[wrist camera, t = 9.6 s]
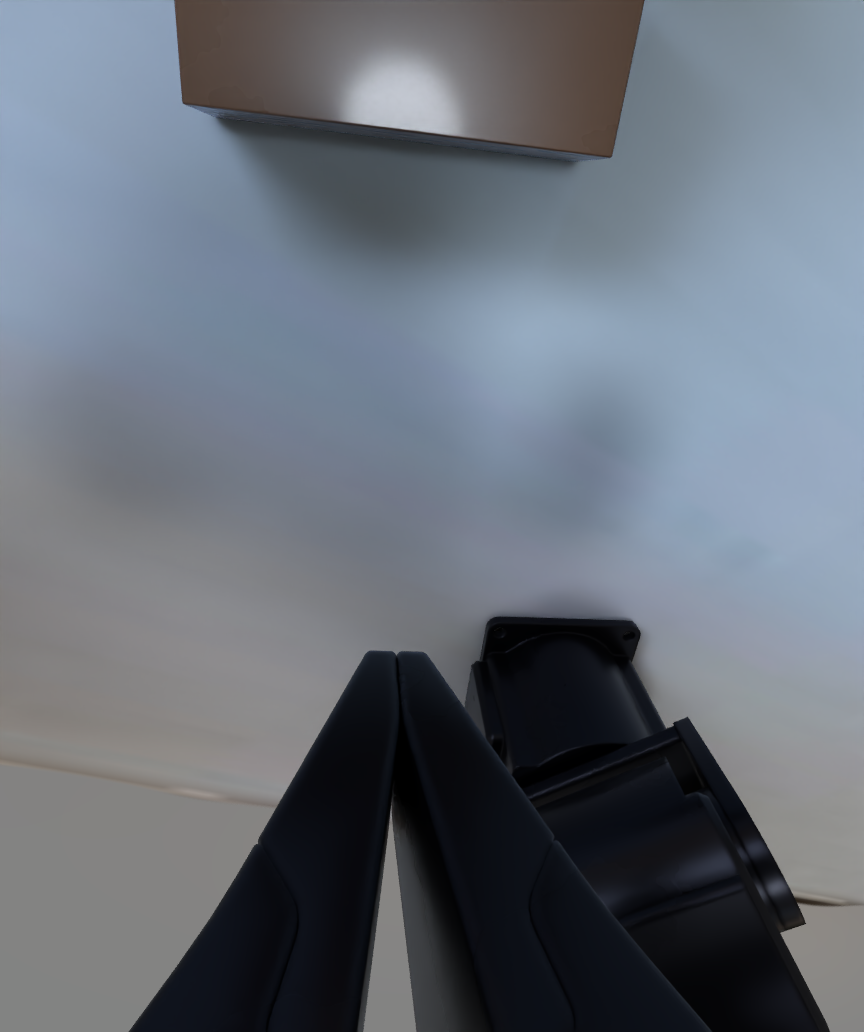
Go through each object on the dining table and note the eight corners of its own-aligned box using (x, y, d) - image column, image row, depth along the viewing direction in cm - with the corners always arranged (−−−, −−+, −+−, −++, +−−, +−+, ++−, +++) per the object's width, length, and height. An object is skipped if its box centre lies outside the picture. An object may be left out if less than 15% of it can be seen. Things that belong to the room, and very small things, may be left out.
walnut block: (610, -20, 15) (658, -62, 13) (576, 161, 17) (612, 157, 15) (202, -86, 14) (161, -147, 12) (213, 117, 16) (181, 104, 13)
